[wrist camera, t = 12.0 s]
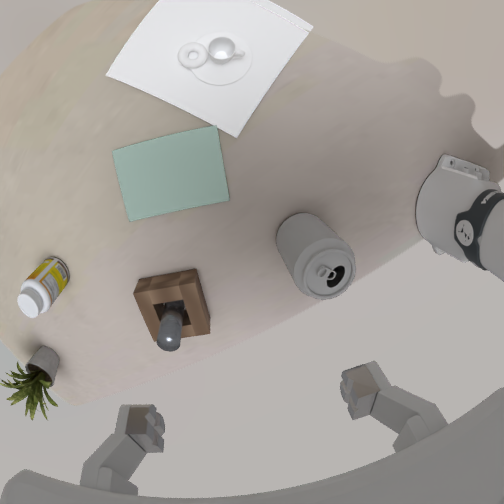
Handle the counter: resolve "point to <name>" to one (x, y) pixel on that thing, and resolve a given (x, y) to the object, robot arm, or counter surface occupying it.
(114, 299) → the counter surface
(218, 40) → the teacup and saucer
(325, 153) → the counter surface
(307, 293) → the can
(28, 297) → the supplement bottle
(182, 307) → the pin
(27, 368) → the house plant
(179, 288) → the hole block
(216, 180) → the mat
